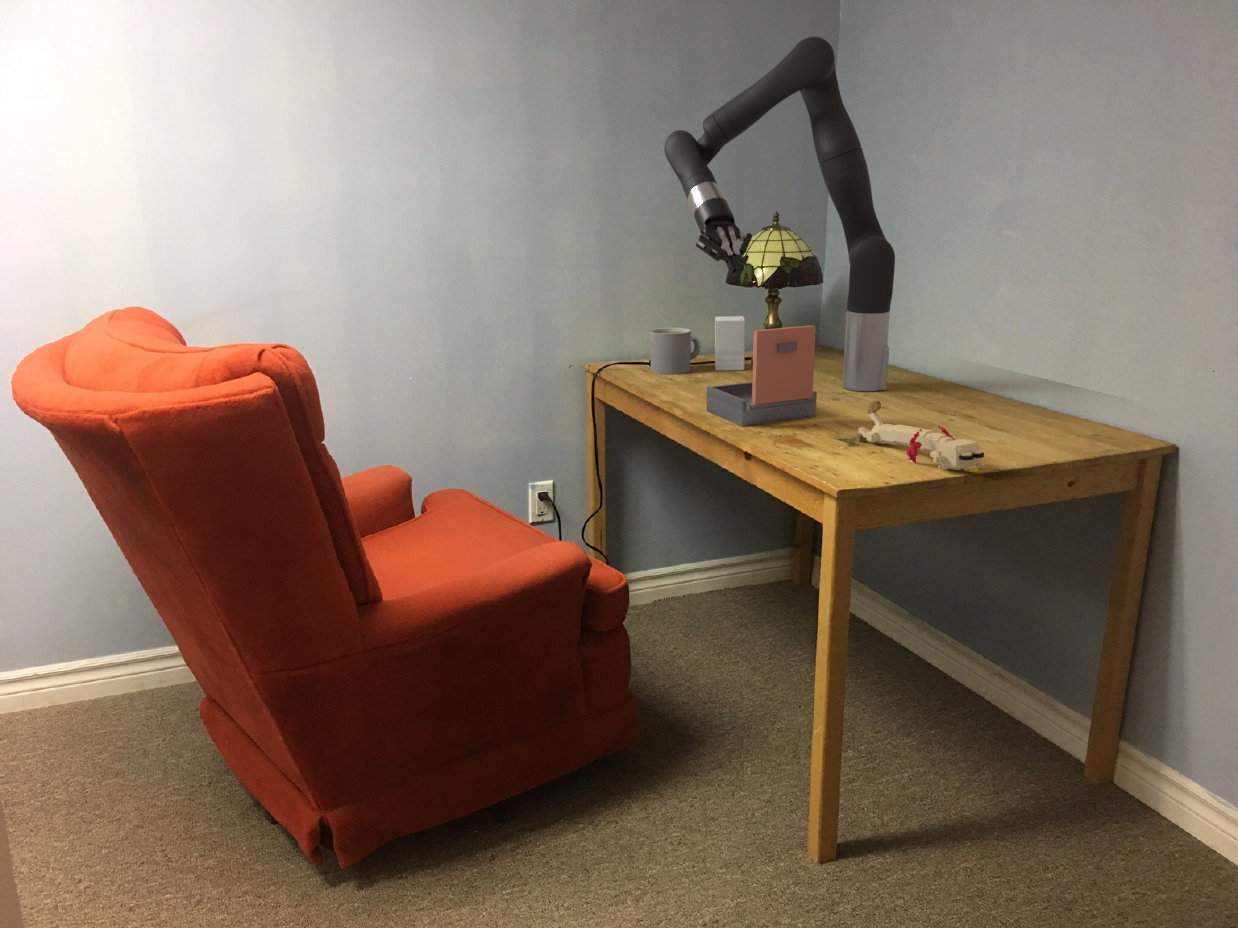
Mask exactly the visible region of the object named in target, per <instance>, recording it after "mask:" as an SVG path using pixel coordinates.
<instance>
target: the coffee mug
mask: <svg viewBox="0 0 1238 928" xmlns="http://www.w3.org/2000/svg"><path fill="white" fill-rule="evenodd" d="M691 333H692V331H691V329H689V328H682V327H660V328H659V327H657V328H654V329H651V330H650V336H649V337H650V372H651V373H654V374H657V375H668V376H669V375H682V374H683V375H684V374H687V373H690V372H691V361H692V360H694V359H695V358H697V357H698V356H699V354H700V352H701V341H700V339H699V337H697V336H696V335H692V334H691ZM691 342H692V343H693V351H692V352H691V347H692V345H691V344H692V343H691Z"/></svg>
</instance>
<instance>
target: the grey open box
mask: <svg viewBox="0 0 1238 928" xmlns="http://www.w3.org/2000/svg"><path fill="white" fill-rule="evenodd" d="M817 393H818V392H817V391H816V390H813V395H812V396H813V397H814V402H811V403H803V404H795V405H788V406H780V407H772V408H764V409H756V410H750V404H752V381H748V382H740V383H739V382H738V383H729V384H720V385H712V386H711V385H710V386H706V411H707V412H709V413H711V414H713V415H716V416H717V417H720V418H722V419H724V420H726V421H729V422H731V423H734V424H736V425H739V426H740V427H746V426H754V425H762V424H769V423H777V422H783V421H790V420H799V419H805V418H814V417H816V416H817V415H816V414H817V396H818V395H817Z"/></svg>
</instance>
